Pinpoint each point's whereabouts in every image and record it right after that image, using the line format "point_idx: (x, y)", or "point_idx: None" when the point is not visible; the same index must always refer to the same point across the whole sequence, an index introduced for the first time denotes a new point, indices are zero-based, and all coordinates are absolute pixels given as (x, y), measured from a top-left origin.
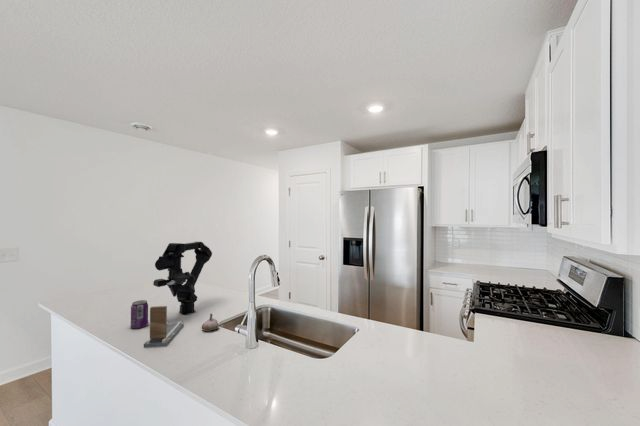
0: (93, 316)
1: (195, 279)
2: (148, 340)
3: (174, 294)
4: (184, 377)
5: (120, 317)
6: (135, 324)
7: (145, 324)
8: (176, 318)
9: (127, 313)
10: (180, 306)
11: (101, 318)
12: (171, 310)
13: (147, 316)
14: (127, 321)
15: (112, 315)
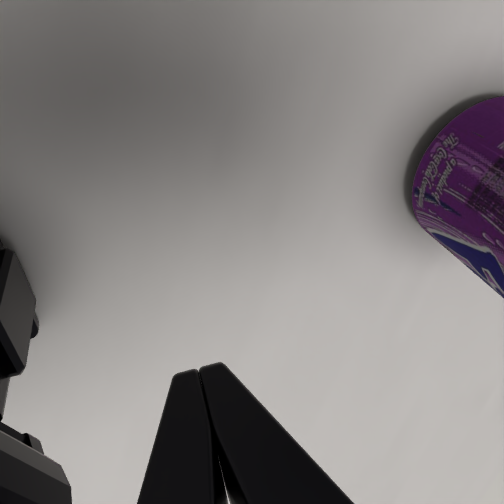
0: (497, 488)
1: None
2: None
3: (235, 409)
4: None
5: (436, 427)
6: None
7: (474, 113)
8: (109, 152)
9: (378, 474)
10: (19, 345)
11: (496, 450)
12: (101, 421)
13: (501, 170)
14: (453, 338)
15: (443, 472)
